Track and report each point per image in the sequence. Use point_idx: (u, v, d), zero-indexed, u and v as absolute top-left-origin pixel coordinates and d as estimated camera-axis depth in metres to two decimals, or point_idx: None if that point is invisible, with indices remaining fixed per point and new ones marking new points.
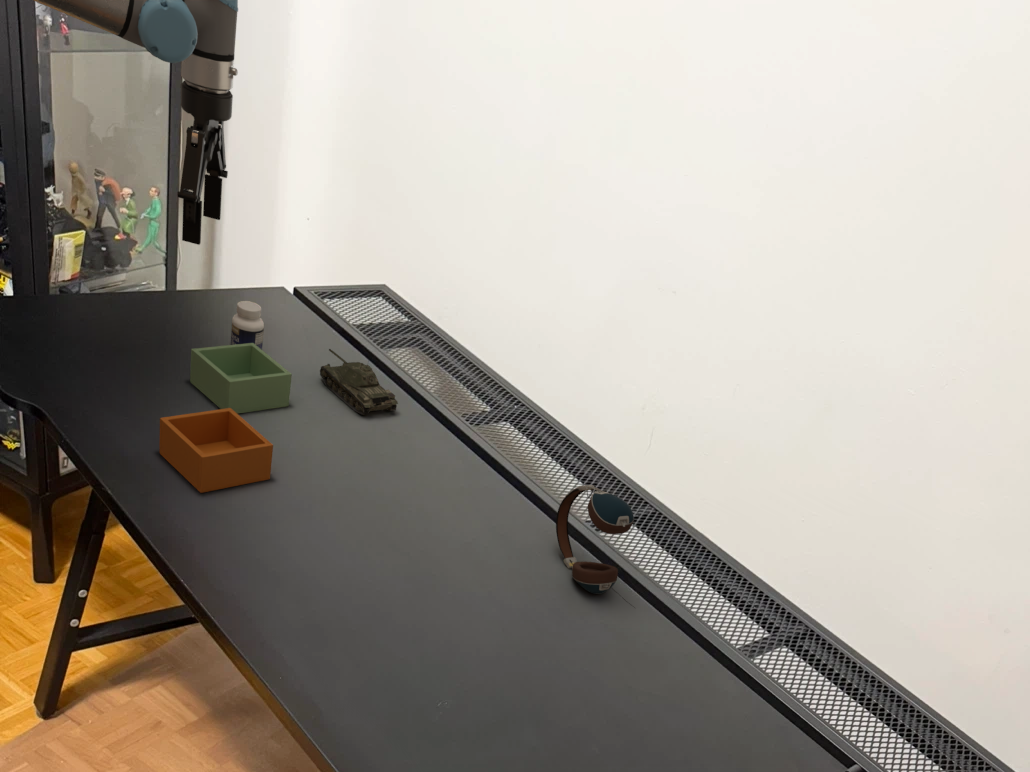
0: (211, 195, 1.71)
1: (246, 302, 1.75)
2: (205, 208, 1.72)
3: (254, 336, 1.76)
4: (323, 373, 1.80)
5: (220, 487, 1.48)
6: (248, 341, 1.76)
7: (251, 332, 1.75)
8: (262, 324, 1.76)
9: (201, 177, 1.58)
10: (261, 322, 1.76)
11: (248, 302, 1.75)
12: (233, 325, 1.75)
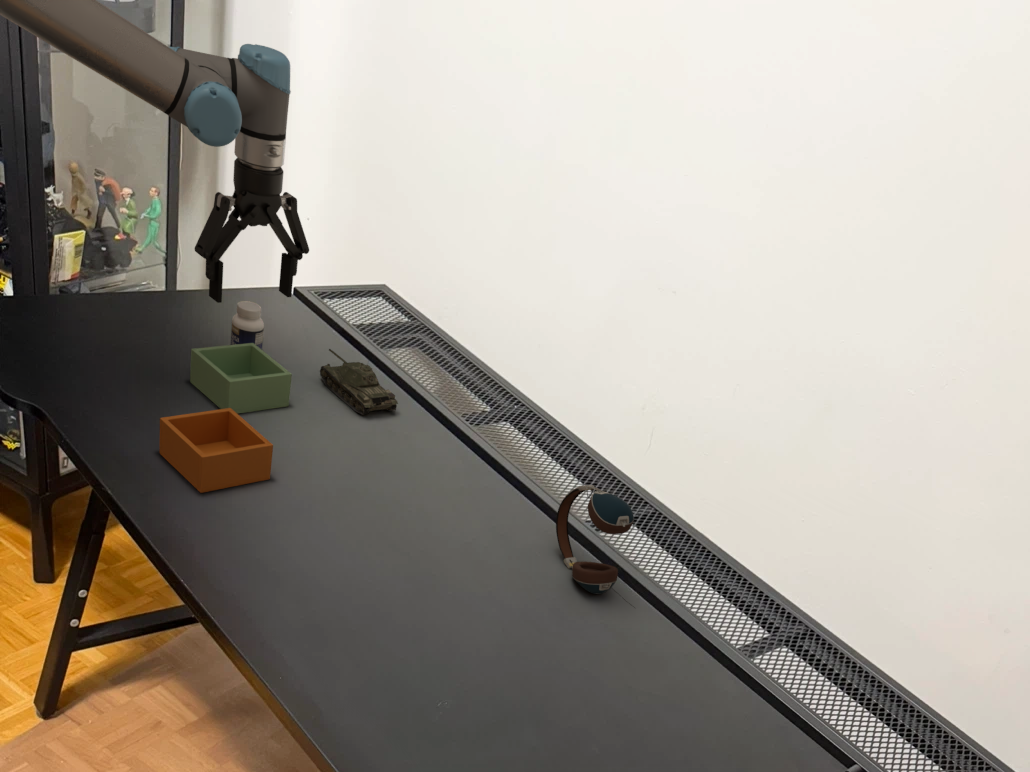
0: (284, 272, 1.75)
1: (246, 302, 1.75)
2: (280, 284, 1.77)
3: (254, 336, 1.76)
4: (323, 373, 1.80)
5: (220, 487, 1.48)
6: (248, 341, 1.76)
7: (251, 332, 1.75)
8: (262, 324, 1.76)
9: (224, 240, 1.63)
10: (261, 322, 1.76)
11: (248, 302, 1.75)
12: (233, 325, 1.75)
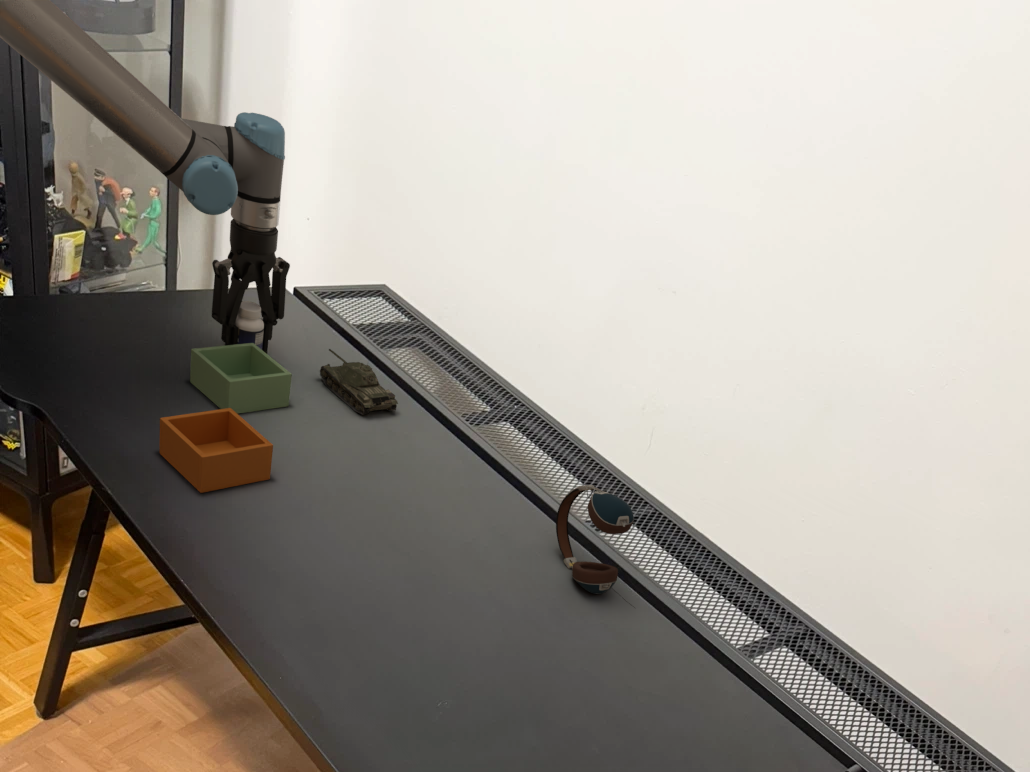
0: None
1: (246, 302, 1.75)
2: None
3: (254, 336, 1.76)
4: (323, 373, 1.80)
5: (220, 487, 1.48)
6: (248, 341, 1.76)
7: (251, 332, 1.75)
8: (262, 324, 1.76)
9: (233, 305, 1.71)
10: (261, 322, 1.76)
11: (248, 302, 1.75)
12: None
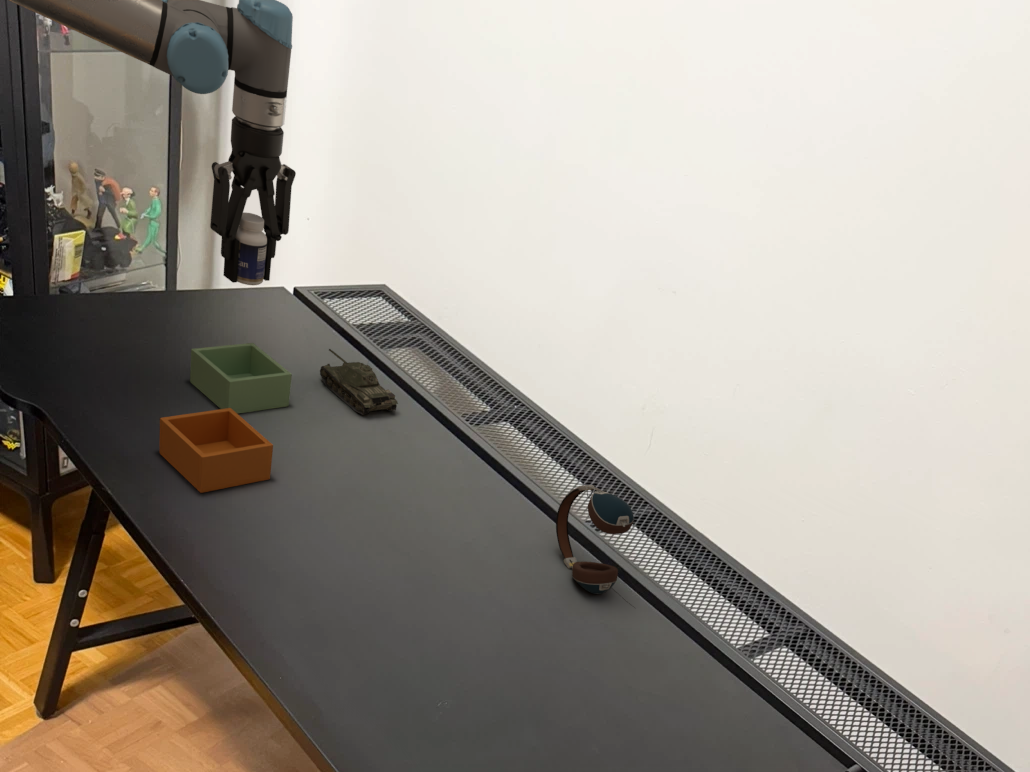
0: None
1: (248, 213, 1.61)
2: None
3: (257, 252, 1.62)
4: (323, 373, 1.80)
5: (220, 487, 1.48)
6: (250, 257, 1.62)
7: (253, 247, 1.61)
8: (265, 238, 1.62)
9: (234, 215, 1.57)
10: (264, 236, 1.62)
11: (250, 214, 1.61)
12: None
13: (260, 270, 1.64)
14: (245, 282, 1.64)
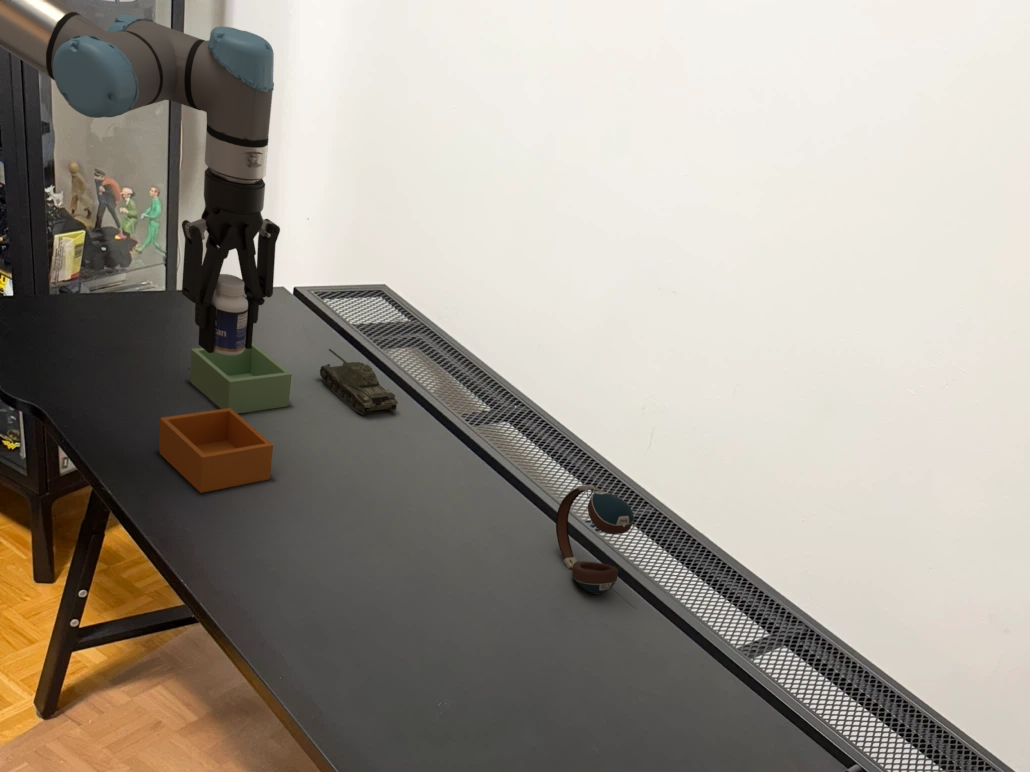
0: None
1: (226, 275, 1.40)
2: None
3: (236, 319, 1.41)
4: (323, 373, 1.80)
5: (220, 487, 1.48)
6: (228, 324, 1.41)
7: (232, 313, 1.40)
8: (246, 303, 1.41)
9: (209, 279, 1.36)
10: (244, 301, 1.41)
11: (228, 275, 1.40)
12: None
13: (241, 338, 1.43)
14: (224, 352, 1.43)
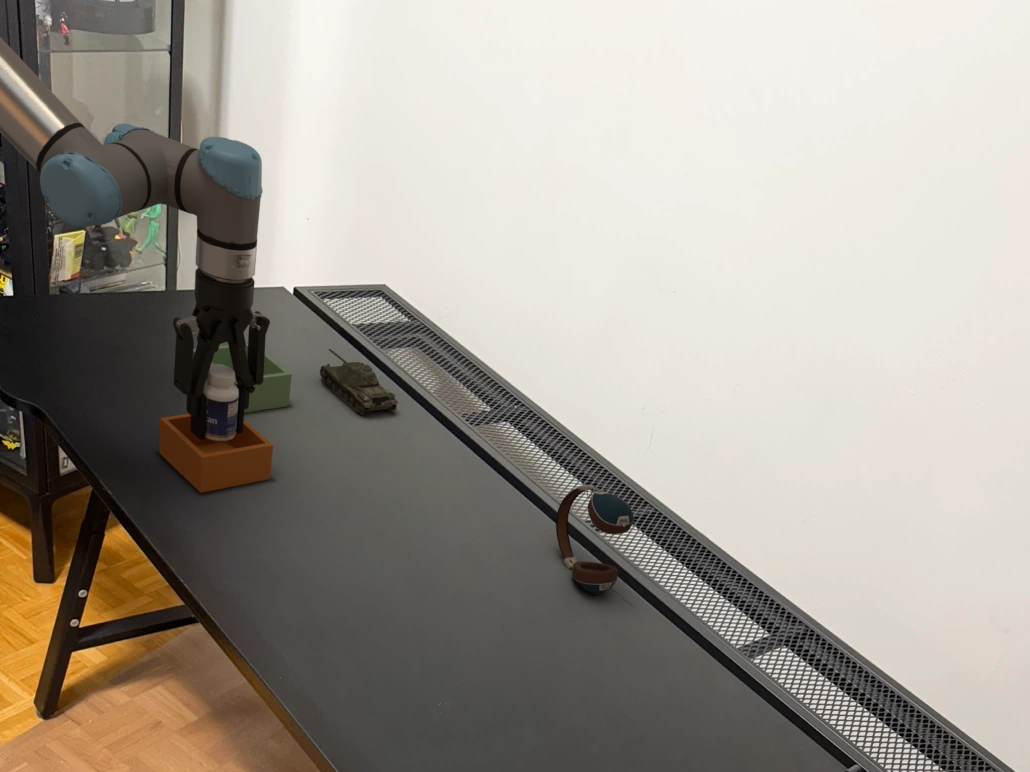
0: None
1: (217, 365, 1.44)
2: None
3: (227, 407, 1.44)
4: (323, 373, 1.80)
5: (220, 487, 1.48)
6: (219, 413, 1.44)
7: (222, 403, 1.43)
8: (236, 392, 1.45)
9: (200, 371, 1.39)
10: (235, 390, 1.44)
11: (219, 366, 1.44)
12: None
13: (231, 425, 1.47)
14: (215, 438, 1.47)
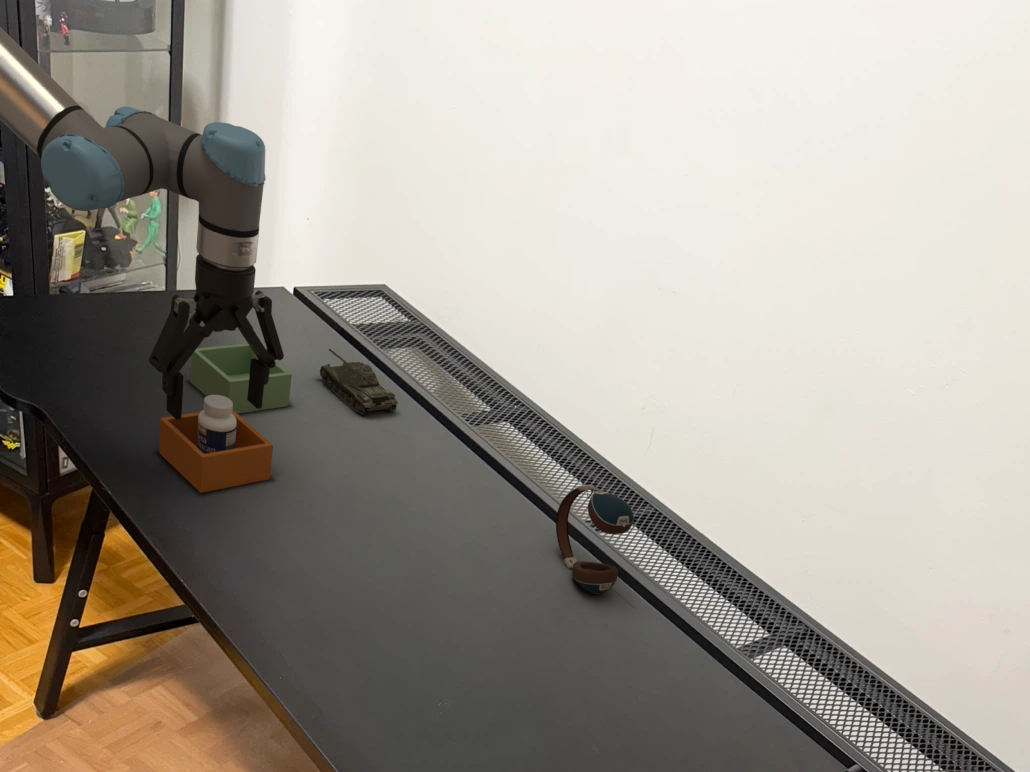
0: (254, 381, 1.48)
1: (215, 396, 1.47)
2: (249, 392, 1.50)
3: (225, 437, 1.47)
4: (323, 373, 1.80)
5: (220, 487, 1.48)
6: (217, 442, 1.47)
7: (221, 432, 1.46)
8: (234, 422, 1.48)
9: (184, 350, 1.36)
10: (233, 420, 1.48)
11: (217, 396, 1.47)
12: (199, 424, 1.46)
13: None
14: None
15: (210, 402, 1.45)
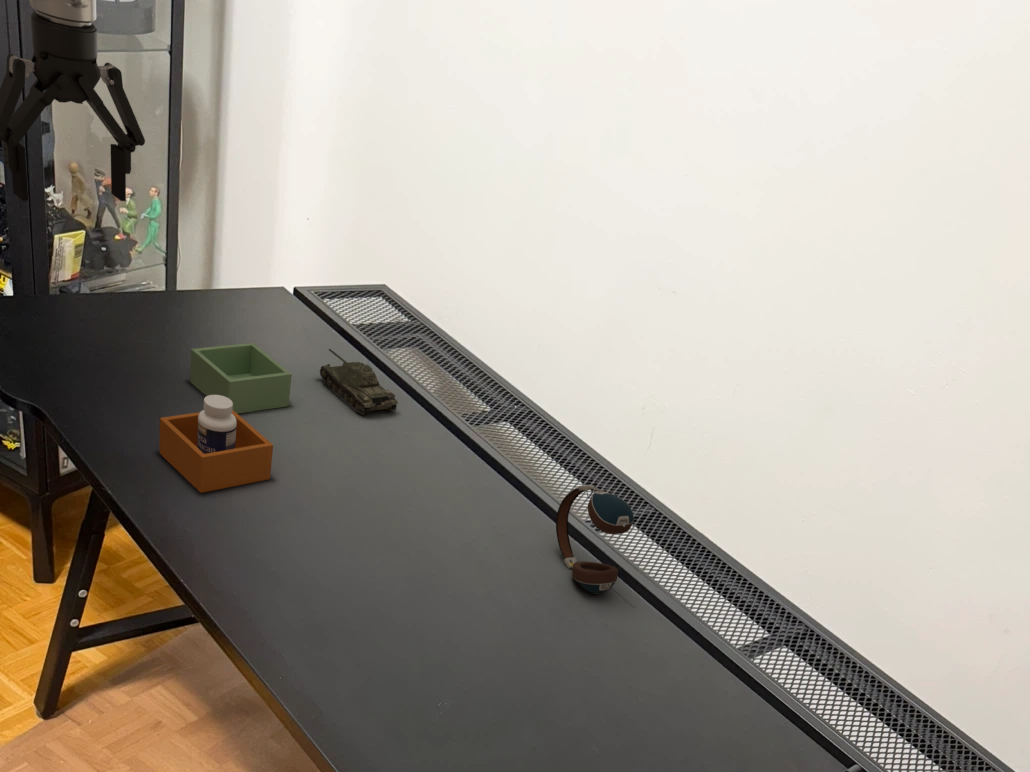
0: (115, 169, 1.42)
1: (215, 396, 1.47)
2: (112, 184, 1.44)
3: (225, 437, 1.47)
4: (323, 373, 1.80)
5: (220, 487, 1.48)
6: (217, 442, 1.47)
7: (221, 432, 1.46)
8: (234, 422, 1.48)
9: (23, 118, 1.29)
10: (233, 420, 1.48)
11: (217, 396, 1.47)
12: (199, 424, 1.46)
13: None
14: None
15: (210, 402, 1.45)
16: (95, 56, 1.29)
